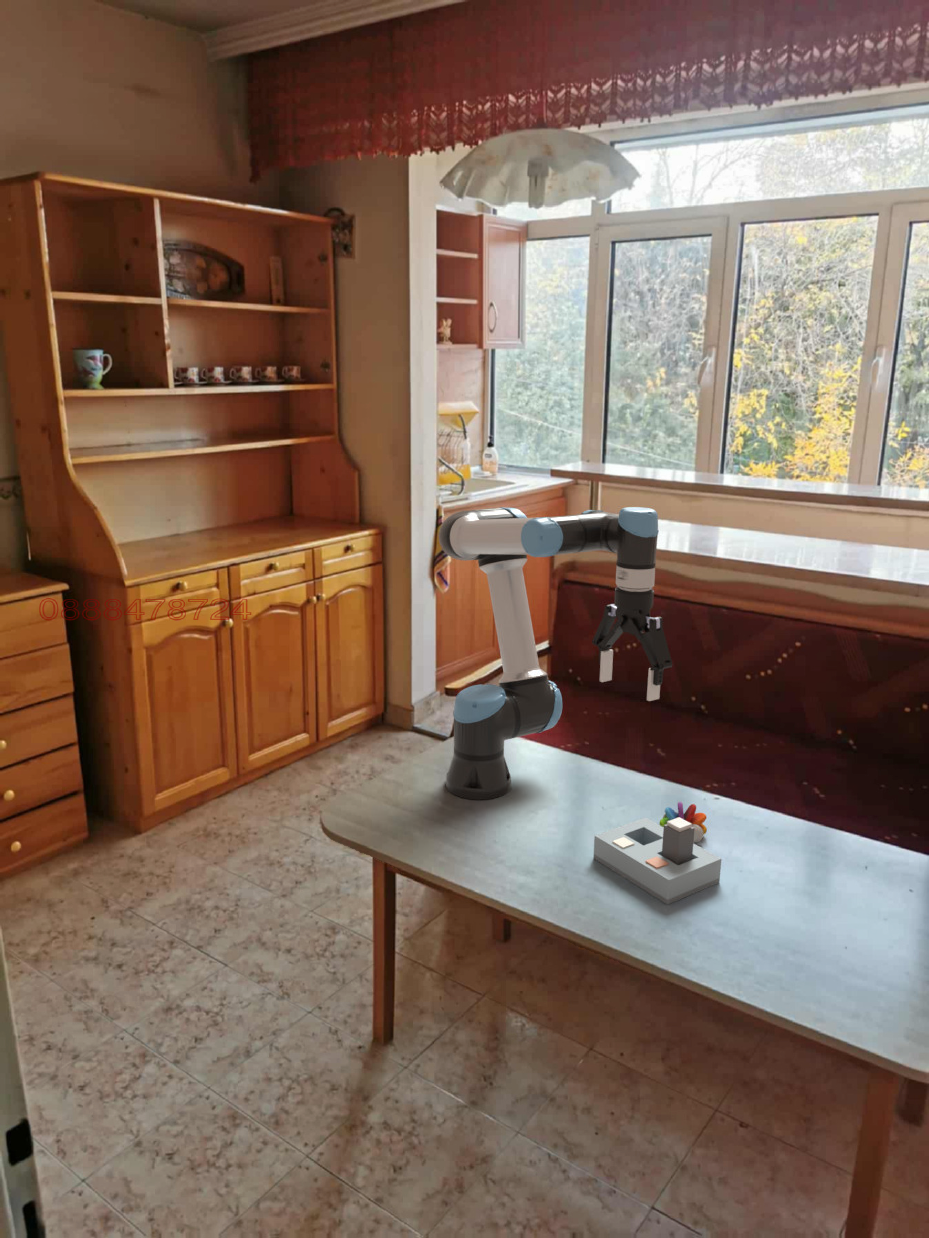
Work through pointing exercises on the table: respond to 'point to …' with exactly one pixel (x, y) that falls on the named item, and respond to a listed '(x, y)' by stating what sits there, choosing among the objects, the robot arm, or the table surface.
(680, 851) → the plug
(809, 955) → the table surface
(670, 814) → the rainbow petal fan toy
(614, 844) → the socket box
